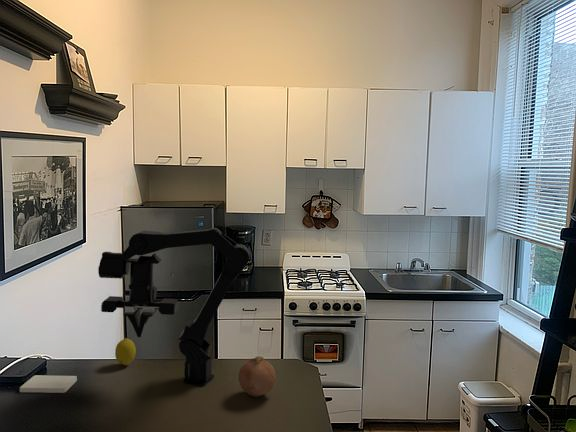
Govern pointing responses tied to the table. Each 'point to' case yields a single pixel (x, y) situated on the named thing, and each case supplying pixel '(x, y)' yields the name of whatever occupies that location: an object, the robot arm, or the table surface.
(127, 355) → the lemon
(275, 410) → the table surface
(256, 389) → the onion
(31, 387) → the tile
